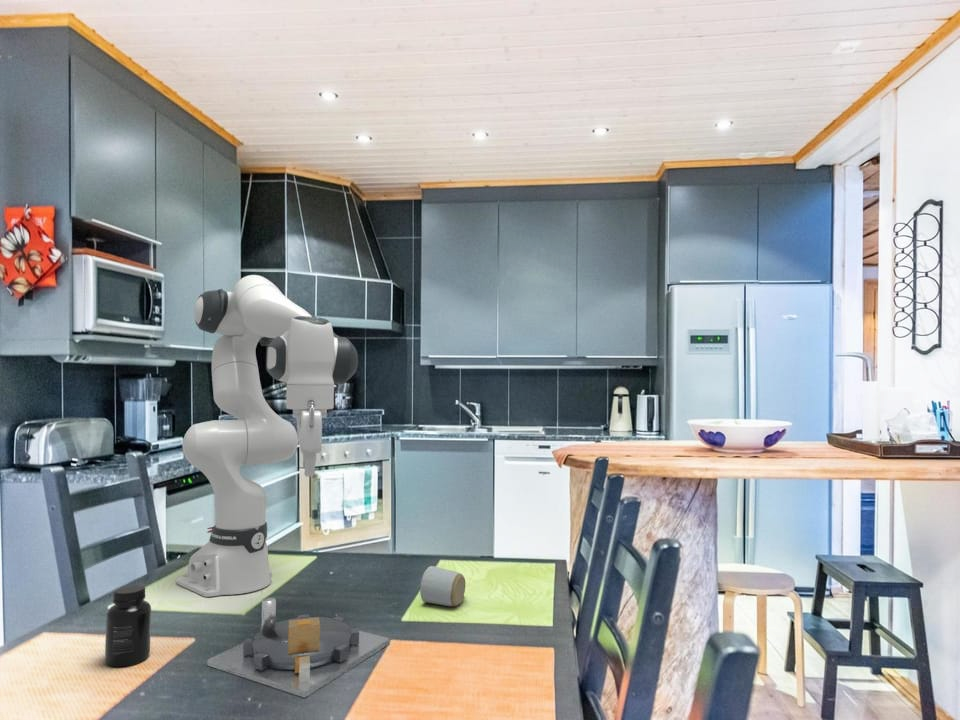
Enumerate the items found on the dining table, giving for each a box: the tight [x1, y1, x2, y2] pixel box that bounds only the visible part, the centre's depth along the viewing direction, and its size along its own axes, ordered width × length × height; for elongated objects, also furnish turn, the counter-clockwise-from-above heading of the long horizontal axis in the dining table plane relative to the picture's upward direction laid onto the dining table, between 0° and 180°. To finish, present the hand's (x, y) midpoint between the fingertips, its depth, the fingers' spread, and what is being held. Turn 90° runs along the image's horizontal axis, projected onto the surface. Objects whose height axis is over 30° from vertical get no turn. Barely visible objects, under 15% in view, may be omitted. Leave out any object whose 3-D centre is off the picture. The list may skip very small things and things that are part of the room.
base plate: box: [206, 630, 391, 699], centre depth 109 cm, size 22×22×4 cm
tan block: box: [288, 616, 320, 655], centre depth 103 cm, size 5×3×5 cm, turn 108°
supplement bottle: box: [104, 584, 152, 668], centre depth 106 cm, size 7×7×12 cm
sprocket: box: [242, 597, 360, 673], centre depth 109 cm, size 20×20×8 cm
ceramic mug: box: [419, 565, 466, 608], centre depth 136 cm, size 11×8×8 cm
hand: (308, 472), depth 117 cm, fingers open, 8 cm apart
